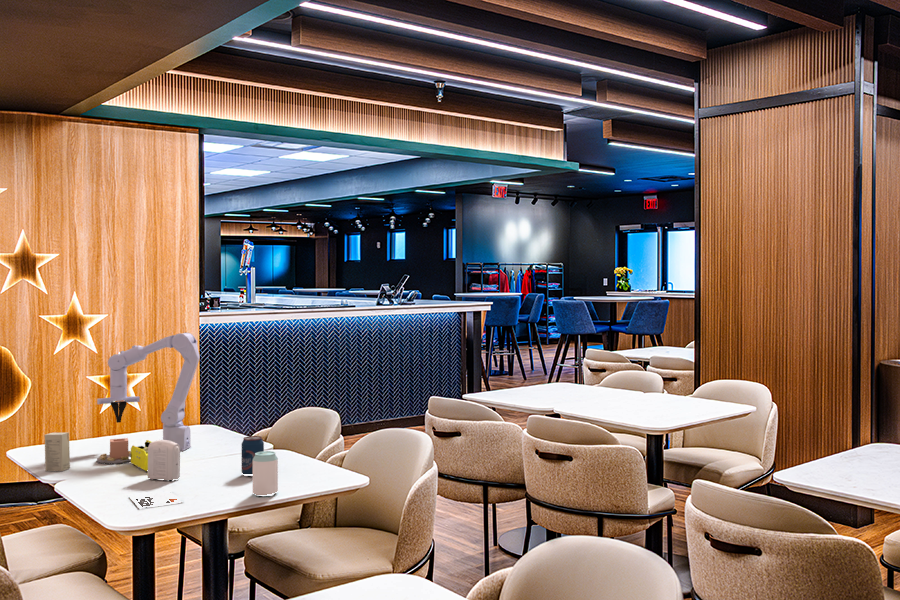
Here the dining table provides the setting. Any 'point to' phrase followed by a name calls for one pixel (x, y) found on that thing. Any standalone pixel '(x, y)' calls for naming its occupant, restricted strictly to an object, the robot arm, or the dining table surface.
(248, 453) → the soda can
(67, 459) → the skincare box
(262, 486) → the can
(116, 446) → the pink square tube
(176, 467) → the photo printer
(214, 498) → the dining table surface
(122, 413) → the robot arm
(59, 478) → the dining table surface
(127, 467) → the dining table surface
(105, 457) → the hub
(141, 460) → the yellow toy chassis
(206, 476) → the dining table surface
